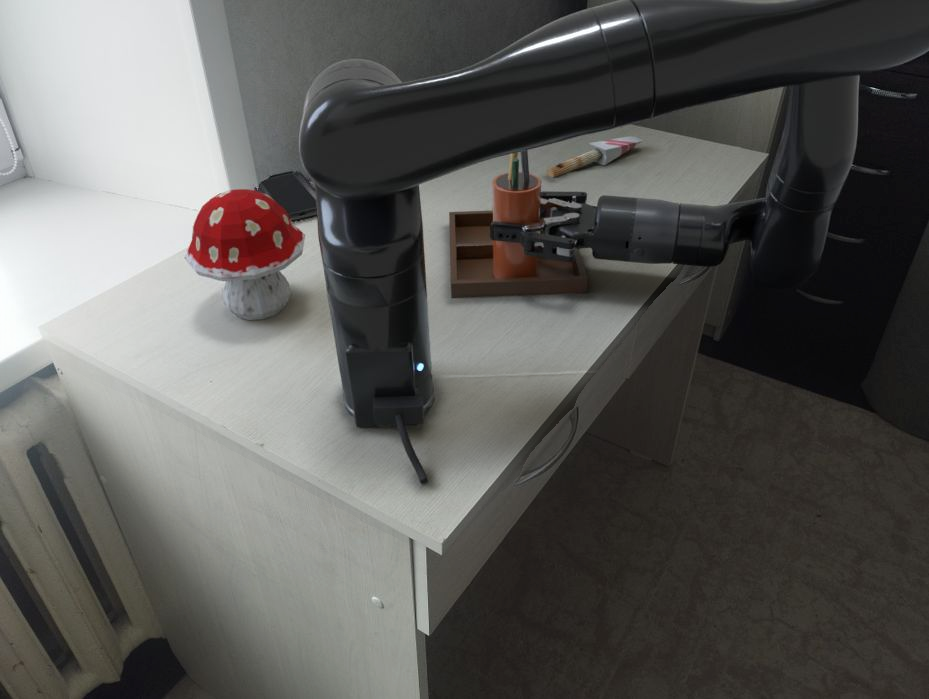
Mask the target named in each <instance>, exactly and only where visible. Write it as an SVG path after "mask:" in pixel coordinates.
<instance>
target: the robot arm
mask: <svg viewBox="0 0 929 699" xmlns="http://www.w3.org/2000/svg"><path fill="white" fill-rule="evenodd" d="M928 52H929V0H784V1H772V2H758V1H746V0H616V1H611V2H608V3H604V4H601V5H596V6H593V7H588V8H586V9H585V8H584V9H582V10H578V11H576V12H573V13H570V14H568V15H565V16H562V17H560V18H558V19H555V20H553V21H551V22H549V23H547V24H545V25H542V26H541V27H539V28H537V29H535V30H534V31H531V32H530V33H528V34H527V35H525V36H523V37H521V38H520V39H518V40H516V41H514V42H513V43H511V44H510V45H508V46H505V48H503V49H501V50H499V51H498V52H496V53H494V54H493V55H490V56H489V57H487V58H485V59H483V60H481V61H478V62H476V63H474V64H472V65H469V66H467V67H464V68H461V69H457V70H454V71H450V72H446V73H442V74H437V75H434V76H433V75H432V76H428V77H424V78H418V79H415V80H409V81H401V79H400V78H399V77H398V75H397V74H395V73H394V72H393V71H391V69H389V68H387V66H384V65H382V64H380V63H378V62H375V61H373V60H370V59H363V58H349V59H344V60H340V61H337V62H335V63H332V64H331V65H330V66H328V67H326V68H325V69H323V70H322V71H321V72H320V73H319V74H318V75H317V76H316V77H315V79H314V80H313V82H312V83H311V84H310V86H309V88H308V90H307V92H306V95H305V98H304V102H303V108H302V114H301V119H300V124H299V135H298V152H299V158H300V163H301V165H302V168H303V170H304V172H305V174H306V175H307V177H308V178H309V179H310V181H311V182H312V183H313V185H314V186H313V187H314V189H315V195H316V207H317V215H316V221H317V237H318V243H319V249H320V256H321V262H322V268H323V273H324V280H325V285H326V286H325V288H326V293H327V301H328V308H329V312H330V318H331V325H332V332H333V338H334V344H335V350H336V356H337V362H338V368H339V375H340V381H341V387H342V399H343V406H344V408H345V410H346V412H347V413H348V414H349V415H350V417H352V418H353V419H354V423H355V427H356V428H378V427H380V428H381V427H384V428H385V427H386V428H388V427H397V429H398V433H399V436H400V439H401V443H402V445H403V449H404V450H405V452H406V455H407V457H408V459H409V461H410V463H411V465H412V467H413V469H414V470H415V473H416V475H417V477H418V480H419V483H420V484H421V485H426V484H427V483H428V482H429V479H428V477H427V474H426V472H425V469H424V466H423V465H422V463H421V461H420V459H419V458H418V455H417V454H416V452H415V449H414V448H413V445H412V444H413V443H412V442H411V439H410V437H409V433H408V430H407V426H417V425H423V424H424V422H425V421H424V416H425V413H427V411H429V409H430V407H432V404H433V402H434V400H435V384H434V380H433V379H434V378H433V364H432V351H431V335H430V321H429V307H428V306H429V305H428V304H429V303H428V292H427V291H428V288H427V273H426V270H427V269H426V256H425V242H424V224H423V223H424V222H423V212H422V203H421V202H422V201H421V191H420V185H422V184H425V183H427V182H431V181H433V180H435V179H438V178H441V177H444V176H446V175H449V174H451V173H454V172H456V171H459V170H462V169H465V168H467V167H470V166H473V165H476V164H479V163H482V162H485V161H489V160H492V159H495V158H499V157H503V156H507V155H511V154H512V153H517V152H518V153H521V151H525V150H527V151H529V150H534V149H537V148H541V147H545V146H550V145H553V144H556V143H559V142H563V141H568V140H571V139H576V138H580V137H584V136H588V135H594V134H599V133H602V132H608V131H611V130H615V129H618V128H622V127H626V126H629V125H634V124H637V123H641V122H645V121H649V120H650V121H651V120H653V119H656V118H659V117H660V118H661V117H663V116H666V115H669V114H673V113H676V112H680V111H682V110H688V109H691V108H694V107H699V106H703V105H708V104H712V103H716V102H720V101H725V100H729V99H735V98H737V97H738V98H739V97H743V96H747V95H750V94H756V93H759V92H765V91H769V90H774V89H780V88H785V87H789V88H790V89H789V97H788V102H787V108H786V113H785V119H784V123H783V124H784V125H783V128H782V133H781V136H780V139H779V144H778V147H777V151H776V154H775V156H774V161H773V164H772V167H771V170H770V174H769V177H768V179H767V180H768V181H767V185H766V189H765V190H766V191H765V197H761V198H760V197H759V198H755V199H748V200H743V201H736V202H730V203H726V204H720V205H707V204H692V203H679V202H674V201H673V202H672V201H668V200H663V199H657V198H644V197H633V196H632V197H631V196H619V195H618V196H617V195H606V194H605V195H601V196H599V198H598V199H597V204H596V206H595V205H591V204H588V203H587V201H588V200H587V199H588V193H587V192H586V191H553V190H552V191H551V190H549V191H547V190H544V191H543V190H542V191H541V211H540V222H539V223H532V224H525V225H522V224H520V223H509V222H497V221H494V222H492V223H491V225H490V238H491V239H492V240H494V241H505V242H516V243H521V246H523V247H524V254H525V255H530V256H535V257H541V258H547V259H552V260H558V261H564V262H572V261H574V254H575V250H576V249H579V250H580V249H590V250H591V251H592V252H591V253H592V257H593V258H594V259H596V260H603V261H605V260H606V261H614V262H615V261H616V262H625V263H638V264H646V265H660V264H661V265H662V264H672V265H681V266H693V267H703V268H705V267H706V268H713V267H718V266H720V265H721V264H722V263H723V262H724V260H725V258H726V257H727V254H728V252H729V248H730V245H732V244H735V243H739V242H744V241H745V242H746V241H749V242H750V245H749V247H750V248H749V250H750V251H749V264H750V265H749V266H750V269H751V273H752V274H753V276H754V277H755V279H756V280H757V281H758V282H759V283H760V284H761V285H763V286H765V287H767V288H769V289H773V290H777V291H778V290H779V291H781V290H783V291H784V290H791V289H794V288H796V287H799V286H801V285H803V283H804V284H805V282H807V281H808V280H809V279H810V278H811V277H812V276H813V275H814V274H815V273H816V271H817V270H818V267H819V265H820V263H821V260H822V257H823V253H824V250H825V245H826V241H827V236H828V231H829V226H830V222H831V216H832V214H833V210H834V207H835V205H836V204H837V202H838V199H839V197H840V194H841V192H842V190H843V187H844V185H845V183H846V180H847V178H848V176H849V173H850V170H851V168H852V165H853V163H854V158H855V154H856V149H857V143H858V142H857V141H858V132H859V89H860V88H859V87H860V76H863V75H868V74H872V73H877V72H881V71H886V70H889V69H892V68H895V67H897V66H900V65H903V64H905V63H908V62H911V61H913V60H915V59H917V58H918V57H921V56H923V55H925V54H926V53H928ZM545 213H546V214H545ZM536 231H540V233H534V232H536ZM535 246H542V247H543V249H540V248H535ZM555 247H556V248H555Z"/></svg>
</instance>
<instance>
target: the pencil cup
mask: <svg viewBox="0 0 929 699" xmlns="http://www.w3.org/2000/svg"><path fill="white" fill-rule="evenodd" d="M528 151H529V150H525V151H521V152H520V159H519V158H518V155H519V152H517V153H512V154H510V158H509V164H508V165H509V166H508V172H505V173H501V174H498V175H497V176H495V177H494V178H493V179H492V180H491V181H492V182H491V191H492V192H491V195H492V196H491V197H492V198H491V199H492V203H491V206H492V208H491V209H492V210H491V211H492V221H493V222H494V221H497V222H509V223H520V224H522V225H525V224H532V223H539V222H540V211H541V192H542V182H543V181H542V179H541V178H540V177H539V176H538V175H535V174H533V173H530V167H529V153H528ZM520 163H521V171H520ZM534 233H540V231H536V232H534ZM535 248H539V246H535ZM538 267H539V257H535V256H530V255H525V254H524V247H523V246H521V243H516V242H505V241H494V240H493V276H494V277H495V279H501V278H529V277H537V276H538Z"/></svg>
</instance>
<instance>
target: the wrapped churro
mask: <svg viewBox="0 0 929 699" xmlns="http://www.w3.org/2000/svg"><path fill="white" fill-rule="evenodd" d="M644 141H645V140H644V139H641V138H639V137H636V136H633V135H628V136H624V137H623V136H622V137H617V138H611V139H605V140H599V141H594V142H589V143H588V146H589V149H590V150H589V151H587V152H584V153H583V154H580V155H578V156H575V157H572V158H570V159H567V160H565V161H563V162H560V163H558V164H556V165H553V166H549V167H548V168H547V169H546V175H547V176H549V177H550V178H556V177H559V176H562V175H564V174H568V173H570V172H572V171H575V170H578V169H579V168H582V167H583V166H587V165H588V164H591V163H593V162H595V163H597V164H598V165H599V164H600V165H601V166H605V165H607V164H609V163H610V162H612V161H614V160H615V159H617V158H618V157H620V156H622V155H623V154H625V153H627V152H628V151H630V150H632V149H633V148H634V147H636V146H637V145H639V144H641V143H643V142H644Z"/></svg>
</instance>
